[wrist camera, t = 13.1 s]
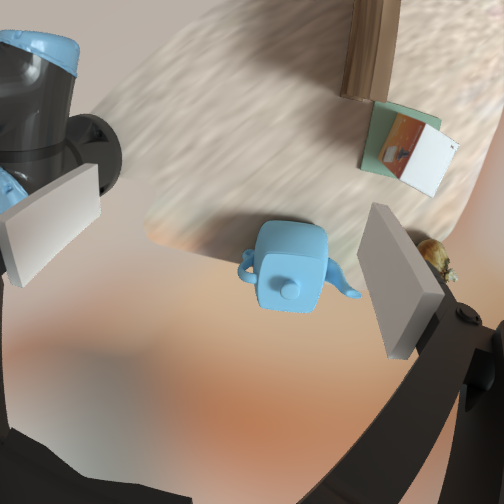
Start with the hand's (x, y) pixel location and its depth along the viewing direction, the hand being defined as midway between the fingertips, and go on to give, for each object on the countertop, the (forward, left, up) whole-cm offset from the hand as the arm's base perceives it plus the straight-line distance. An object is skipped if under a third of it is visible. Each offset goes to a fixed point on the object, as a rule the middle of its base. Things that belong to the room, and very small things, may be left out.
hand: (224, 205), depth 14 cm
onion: (+30, -16, -33) cm, 47 cm away
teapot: (+8, -20, -33) cm, 39 cm away
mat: (+20, +1, -33) cm, 38 cm away
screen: (+11, +14, -33) cm, 37 cm away
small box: (+20, +1, -32) cm, 38 cm away
